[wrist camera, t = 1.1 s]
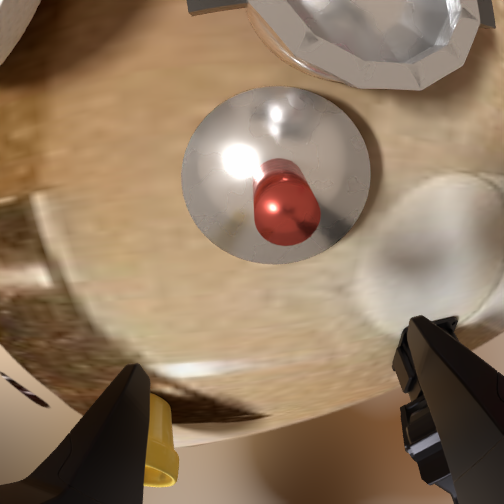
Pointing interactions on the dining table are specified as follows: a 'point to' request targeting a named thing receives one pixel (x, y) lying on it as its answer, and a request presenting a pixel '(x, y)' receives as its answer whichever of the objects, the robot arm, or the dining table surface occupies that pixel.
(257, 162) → the lid
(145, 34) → the dining table surface
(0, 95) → the dining table surface
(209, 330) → the dining table surface
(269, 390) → the dining table surface
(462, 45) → the pot
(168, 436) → the plant pot
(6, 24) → the cereal bowl
